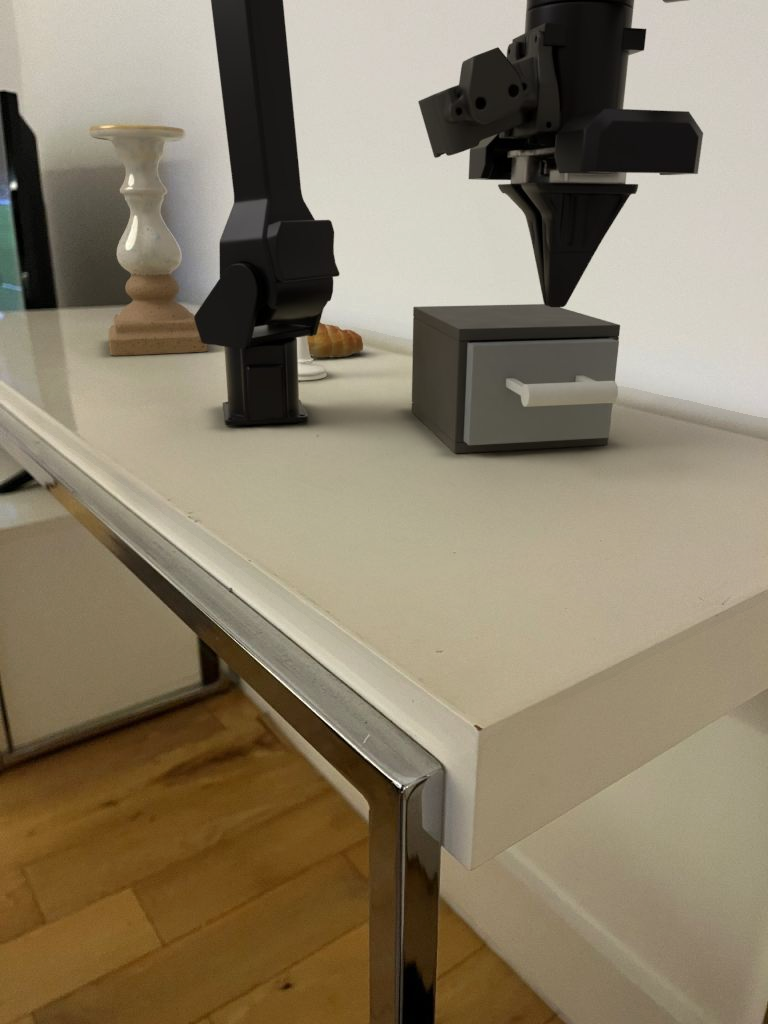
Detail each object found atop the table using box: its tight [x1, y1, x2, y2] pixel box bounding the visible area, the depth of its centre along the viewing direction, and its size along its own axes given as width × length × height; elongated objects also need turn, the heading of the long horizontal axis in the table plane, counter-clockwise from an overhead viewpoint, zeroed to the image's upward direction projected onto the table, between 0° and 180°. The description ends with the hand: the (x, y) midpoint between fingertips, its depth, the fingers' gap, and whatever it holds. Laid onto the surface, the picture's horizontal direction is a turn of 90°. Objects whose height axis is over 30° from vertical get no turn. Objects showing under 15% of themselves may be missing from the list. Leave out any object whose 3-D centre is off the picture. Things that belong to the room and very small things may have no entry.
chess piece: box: [297, 336, 328, 382], centre depth 81 cm, size 5×5×10 cm
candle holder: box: [89, 124, 209, 356], centre depth 95 cm, size 11×11×24 cm
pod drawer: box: [464, 337, 620, 445], centre depth 59 cm, size 16×10×7 cm, turn 12°
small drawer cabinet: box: [411, 303, 621, 454], centre depth 63 cm, size 13×12×9 cm
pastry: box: [307, 322, 364, 359], centre depth 93 cm, size 9×7×4 cm
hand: (554, 306), depth 50 cm, fingers closed
